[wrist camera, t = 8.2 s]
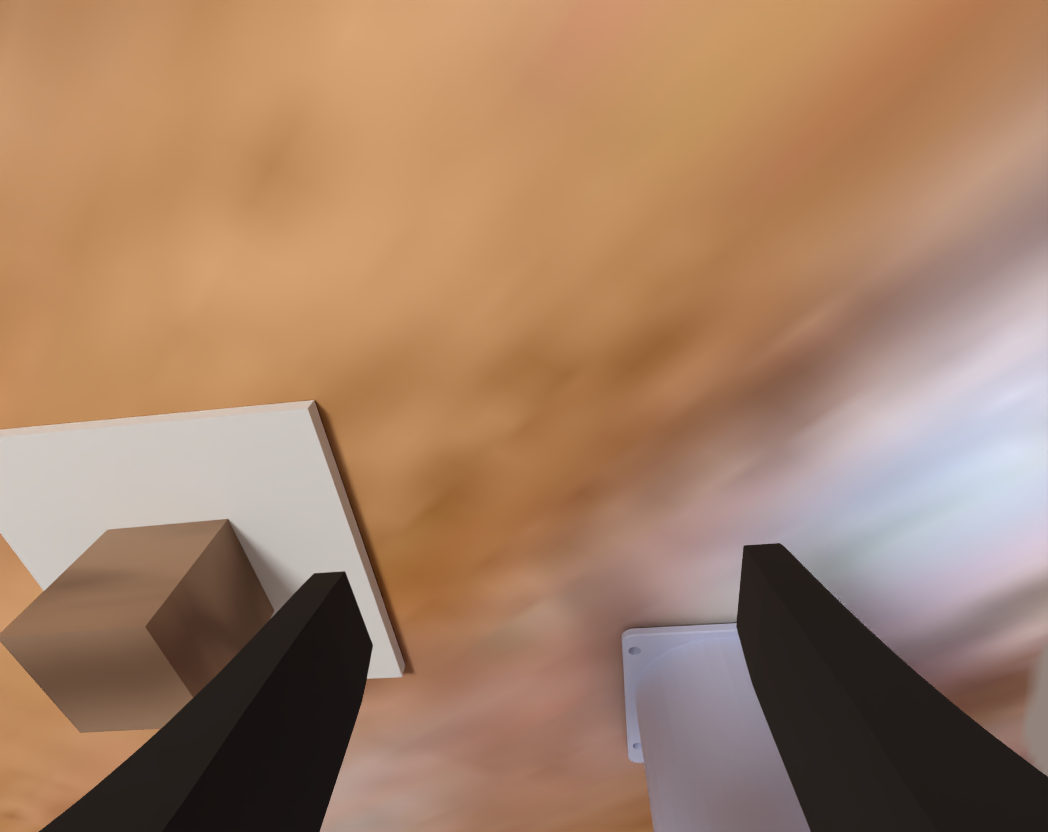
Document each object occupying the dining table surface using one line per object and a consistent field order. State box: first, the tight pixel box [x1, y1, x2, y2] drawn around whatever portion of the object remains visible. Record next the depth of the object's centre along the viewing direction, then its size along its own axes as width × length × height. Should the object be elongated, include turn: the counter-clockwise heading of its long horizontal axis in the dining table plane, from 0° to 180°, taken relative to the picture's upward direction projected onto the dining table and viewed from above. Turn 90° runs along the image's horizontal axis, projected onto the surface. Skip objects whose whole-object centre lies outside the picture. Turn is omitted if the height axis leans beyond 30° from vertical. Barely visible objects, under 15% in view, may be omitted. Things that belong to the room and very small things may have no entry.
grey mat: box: [0, 400, 405, 679], centre depth 23 cm, size 14×14×1 cm
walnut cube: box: [0, 519, 274, 733], centre depth 20 cm, size 5×5×5 cm
